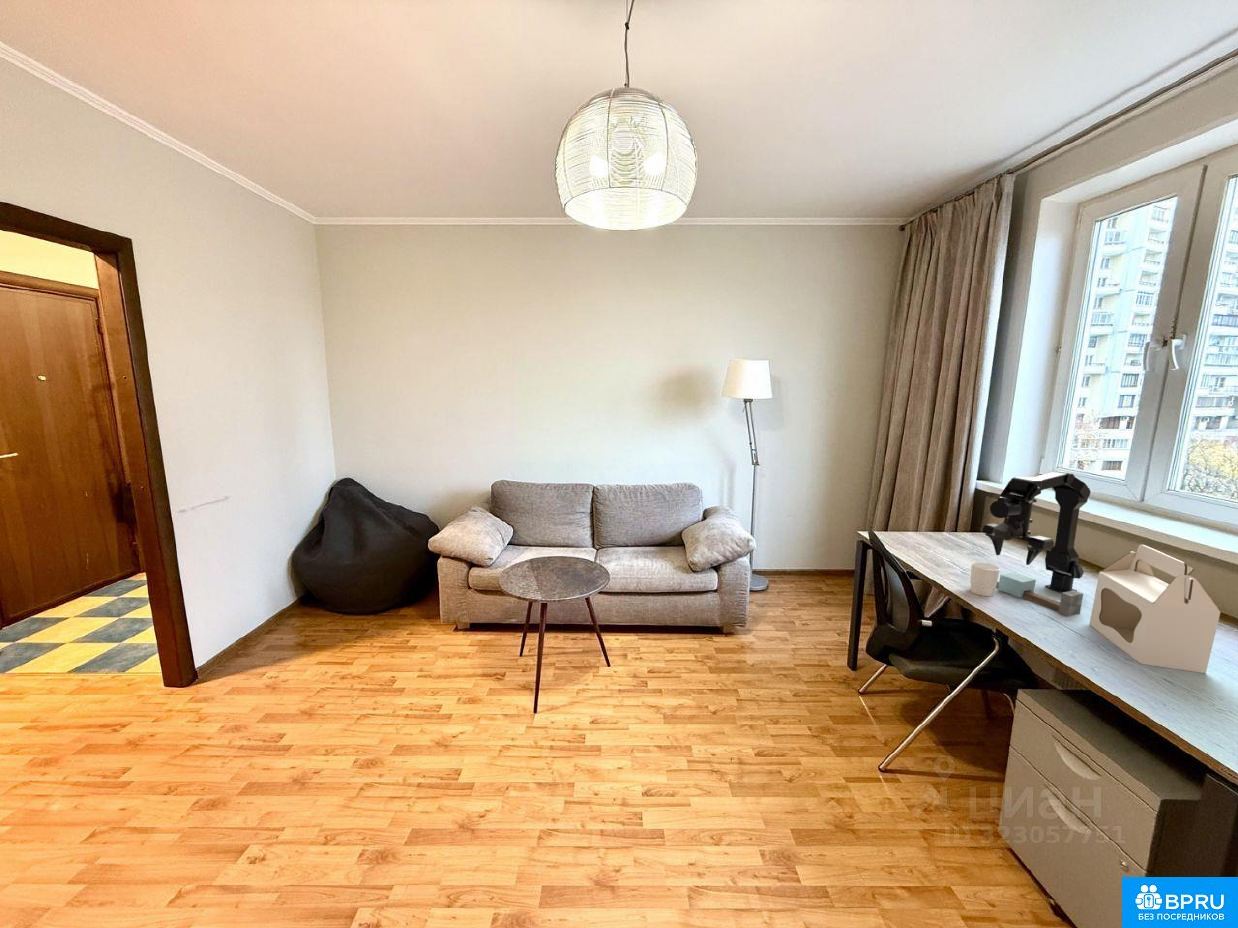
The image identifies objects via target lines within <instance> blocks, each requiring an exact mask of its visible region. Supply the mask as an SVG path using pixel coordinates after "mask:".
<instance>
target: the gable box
mask: <svg viewBox="0 0 1238 928" xmlns="http://www.w3.org/2000/svg"><path fill="white" fill-rule="evenodd" d="M1151 566H1152V567H1153V568H1155V569H1158V570H1160V571H1162V572H1164V573H1165V574H1168V575H1170V576H1172V577H1174V578H1173V579H1172V581H1171V582H1169V583H1167V582H1166V581H1163V580H1161V579H1159V578H1157V577H1155V574H1154V573H1153V572H1154V571H1153V570H1152V568H1151ZM1193 571H1195V568H1193V567H1191V566H1189V565H1187V563H1186V562H1183V560H1179V559H1177V558H1175V557H1174V556H1170V555H1168V554H1165V553H1164V552H1162V551H1159V550H1157V549H1155V548H1152V547H1150V546H1147V545H1145V544H1139V545H1138V547H1137V550H1136V551H1132V550H1130V552H1128V553H1127V554H1125V555H1123V556H1122V557H1120V558H1118V559H1117V560H1115V561H1114V562H1112V563H1111V564H1109V565H1108V566H1107V567H1104V568H1103V569H1102V570H1101V571H1099V572H1098V576H1097V577H1098V578H1097V582H1096V589H1095V593H1094V598H1093V604H1092V609H1091V614H1090V618H1089V626H1090V627H1092V628H1093V629H1094V630H1095V631H1097V633H1100V634H1101V635H1102V636H1103V637H1105V639H1107V640H1109V641H1110V642H1111V643H1112V644H1114V645H1115V646H1117V647H1118V648H1119V649H1120V650H1122V651H1123V652H1125V653H1126V654H1127V655H1128V656H1130V658H1132V659H1133V660H1135V661H1136V662H1137V663H1139V664H1140V665H1146V666H1151V667H1152V666H1153V667H1159V668H1166V669H1175V670H1180V671H1185V672H1186V671H1187V672H1192V673H1200V674H1206V673H1207V670H1208V666H1209V661H1210V657H1211V653H1212V649H1213V645H1214V641H1215V636H1216V633H1217V630H1218V629H1217V627H1218V623H1219V619H1220V617H1221V616H1220V615H1221V609H1219V608H1218V606H1217V605H1216V604H1215V603H1214V601H1213V600H1212V598H1211V597H1210V596H1209V595H1208V593H1207V591H1205V589H1204V588H1203V586H1202V585H1201V583H1200V582H1199V581H1198V580H1197V579H1196V578H1195V577H1193V576H1192V575H1190V574H1192V573H1193Z"/></svg>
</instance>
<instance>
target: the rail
mask: <svg viewBox="0 0 1238 928" xmlns="http://www.w3.org/2000/svg"><path fill="white" fill-rule="evenodd" d="M998 587H999V581H997V585H996V588H997V589H998ZM1022 599H1026V600H1029V601H1031V602H1034V603H1036V604H1039V605H1041V606H1044V607H1047V608H1049V609H1052V610H1053V611H1054V610H1055V611H1057V612H1058V614H1060V615H1064V616H1065V617H1067V618H1069V617H1072V616H1076V615H1080V614H1081V610H1082V604H1083V599H1084V593H1083V592H1080V591H1078V590H1077V591H1074V590H1073V591H1068V592H1063V593H1061V596H1060V601H1058V600H1055V599H1053V598H1049V597H1047V596H1044V595H1042V594H1038V593H1037V592H1035V591H1034V592H1031V591H1024V592H1023V597H1022Z"/></svg>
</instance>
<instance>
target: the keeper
mask: <svg viewBox="0 0 1238 928" xmlns="http://www.w3.org/2000/svg"><path fill="white" fill-rule="evenodd" d="M998 582H999V587H998V588H997V589H998V590H999V591H1001V592H1004V593H1007V594H1009V595H1011V596H1014V597H1016V598H1023V592H1024V591H1031V592H1034V593H1035V588H1036V582H1037V579H1034V578H1032V577H1029V576H1026V575H1024V574H1021V573H1017V572H1015V571H1012V572H1007V573H1001V574H1000V573H999V581H998Z"/></svg>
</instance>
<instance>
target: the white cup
mask: <svg viewBox="0 0 1238 928" xmlns="http://www.w3.org/2000/svg"><path fill="white" fill-rule="evenodd" d="M1000 571H1001V569H1000V567H999V566H997V565H995V564H991V563H989V562H985V561H974V562H971V569H970V588H969V589H970V590H969V591H971V592H972V593H973V594H976V595H979V596H983V597H993V596H995V591H996V588H997V587H996V585H997V582H998V579H999V577H1000Z"/></svg>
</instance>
